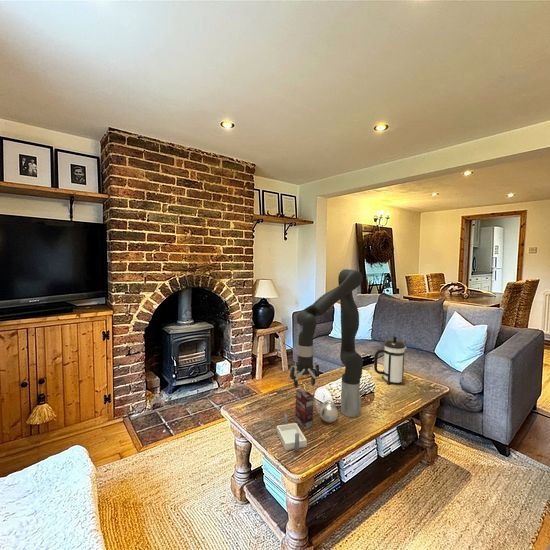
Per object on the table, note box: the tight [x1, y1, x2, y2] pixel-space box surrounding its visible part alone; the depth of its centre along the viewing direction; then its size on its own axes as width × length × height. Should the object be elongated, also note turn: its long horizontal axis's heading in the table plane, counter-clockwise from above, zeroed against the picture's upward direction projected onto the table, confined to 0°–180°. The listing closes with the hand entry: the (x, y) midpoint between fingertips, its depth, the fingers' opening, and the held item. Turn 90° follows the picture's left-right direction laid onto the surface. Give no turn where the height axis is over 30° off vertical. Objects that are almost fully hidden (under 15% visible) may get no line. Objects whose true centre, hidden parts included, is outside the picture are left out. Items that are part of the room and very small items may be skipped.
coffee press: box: [373, 335, 407, 386], centre depth 195 cm, size 17×16×30 cm
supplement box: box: [294, 388, 314, 430], centre depth 148 cm, size 9×5×16 cm, turn 31°
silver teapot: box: [319, 399, 339, 423], centre depth 150 cm, size 9×10×10 cm
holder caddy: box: [276, 413, 308, 452], centre depth 136 cm, size 10×17×7 cm, turn 16°
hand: (304, 386), depth 147 cm, fingers open, 8 cm apart
